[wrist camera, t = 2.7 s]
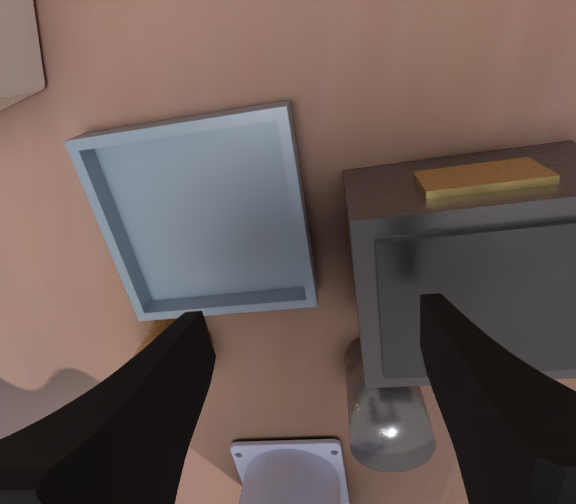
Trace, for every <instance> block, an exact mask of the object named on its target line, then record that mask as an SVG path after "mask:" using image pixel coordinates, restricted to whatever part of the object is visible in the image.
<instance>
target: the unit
mask: <svg viewBox="0 0 576 504" xmlns="http://www.w3.org/2000/svg"><path fill="white" fill-rule="evenodd" d="M343 177H344V188H345V198H346V208H347V218H348V229H349V239H350V249H351V259H352V269H353V280H354V290H355V300H356V310H357V319H358V327H359V336H360V345H361V354H362V362H363V371H364V380H365V388H384V387H404V386H425V385H431V384H430V381H429V378H428V376H427V373H426V369H425V365H424V361H423V356H422V352H421V348H420V295H421V294H435V293H441V294H442V295H443V296H444V297H445V298H447V299H448V300H449V301H450V302H451V303H452V304H453V305H454V306H455V307H456V308H457V309H458V310H459V311H460V312H462V313H463V314H464V315H465V316H466V317H467V318H468V319H469V320H470V321H472V322H473V323H474V324H475V325H476V326H477V327H479V328H480V329H481V330H482V331H483V332H485V333H486V334H487V335H488V336H489V337H491V338H492V339H493V340H494V341H496V342H497V343H498V344H500V345H501V346H502V347H504V348H505V349H507V350H508V351H509V352H511V353H512V354H514V355H515V356H516V357H518V358H519V359H521V360H523V361H524V362H526V363H527V364H529V365H530V366H532V367H534V368H535V369H537V370H538V371H540V372H542V373H543V374H545V375H547V376H548V377H550V378H552V379H567V378H576V142H573V141H565V142H557V143H550V144H542V145H534V146H527V147H519V148H511V149H504V150H496V151H488V152H481V153H473V154H465V155H458V156H450V157H442V158H435V159H427V160H419V161H412V162H404V163H396V164H389V165H381V166H374V167H366V168H358V169H351V170H343Z"/></svg>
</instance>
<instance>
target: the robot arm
mask: <svg viewBox="0 0 576 504" xmlns="http://www.w3.org/2000/svg"><path fill="white" fill-rule="evenodd" d="M420 348H421V352H422V356H423V361H424V365H425V369H426V373H427V376H428V378H429V381H430V384H431V387H432V389H433V392H434V395H435V397H436V400H437V403H438V405H439V408H440V411H441V413H442V416H443V419H444V421H445V424H446V427H447V429H448V432H449V434H450V437H451V440H452V443H453V446H454V449H455V452H456V456H457V460H458V463H459V467H460V471H461V474H462V478H463V482H464V486H465V490H466V494H467V497H468V501H469V504H576V391H574V390H572V389H570V388H568V387H567V386H565V385H563V384H561V383H559V382H557V381H555V380H554V379H552V378H550V377H548V376H547V375H545V374H543V373H542V372H540V371H538V370H537V369H535V368H534V367H532V366H530V365H529V364H527V363H526V362H524V361H523V360H521V359H519V358H518V357H516V356H515V355H514V354H512V353H511V352H509V351H508V350H507V349H505V348H504V347H502V346H501V345H500V344H498V343H497V342H496V341H494V340H493V339H492V338H491V337H489V336H488V335H487V334H486V333H485V332H483V331H482V330H481V329H480V328H479V327H477V326H476V325H475V324H474V323H473V322H472V321H470V320H469V319H468V318H467V317H466V316H465V315H464V314H463V313H462V312H460V311H459V310H458V309H457V308H456V307H455V306H454V305H453V304H452V303H451V302H450V301H449V300H448V299H447V298H445V297H444V296H443V295H442V294H441V293H435V294H421V295H420ZM215 359H216V355H215V352H214V349H213V345H212V342H211V339H210V335H209V332H208V329H207V325H206V322H205V319H204V315H203V312H202V311H191V312H185V313H183V314H182V315H181V316H180V317H178V318H177V319H176V320H175V321H174V322H173V323H172V324H170V325H169V326H168V327H167V328H166V329H165V330H164V331H163V332H162V333H161V334H159V335H158V336H157V337H156V338H155V339H154V340H153V341H152V342H150V343H149V344H148V345H147V346H146V347H145V348H144V349H143V350H141V351H140V352H139V353H138V354H137V355H135V356H134V357H133V358H132V359H131V360H129V361H128V362H127V363H126V364H124V365H123V366H122V367H121V368H120V369H118V370H117V371H116V372H114V373H113V374H112V375H110V376H109V377H108V378H106V379H105V380H104V381H102V382H101V383H99V384H98V385H97V386H95V387H94V388H92V389H91V390H89V391H88V392H86V393H85V394H83V395H81V396H80V397H78V398H77V399H75V400H74V401H72V402H70V403H68V404H67V405H65V406H63V407H62V408H60V409H59V410H57V411H55V412H54V413H52V414H50V415H48V416H46V417H44V418H43V419H41V420H39V421H37V422H35V423H33V424H31V425H29V426H27V427H26V428H24V429H21V430H20V431H17V432H15V433H13V434H11V435H10V436H7V437H5V438H2V439H0V504H175V500H176V495H177V490H178V486H179V482H180V477H181V473H182V469H183V465H184V461H185V457H186V454H187V450H188V447H189V444H190V441H191V438H192V435H193V433H194V430H195V427H196V424H197V421H198V418H199V416H200V413H201V410H202V407H203V404H204V401H205V398H206V396H207V393H208V390H209V387H210V384H211V379H212V374H213V369H214V364H215ZM230 450H231V453H232V456H233V459H234V462H235V465H236V467H237V470H238V473H239V476H240V479H241V482H242V491H241V497H240V501H239V504H350V503H349V496H348V489H347V483H346V476H345V469H344V462H343V456H342V449H341V443H340V441H338V440H337V439H310V440H278V441H246V442H234V443H232V445H231V448H230Z"/></svg>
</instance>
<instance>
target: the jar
mask: <svg viewBox="0 0 576 504" xmlns="http://www.w3.org/2000/svg"><path fill="white" fill-rule="evenodd" d="M44 88H45V80H44V73H43V66H42V59H41V52H40V45H39V38H38V31H37V24H36V16H35V9H34V2H33V0H0V111H1V110H3V109H5V108H7V107H9V106H11V105H13V104H15V103H17V102H19V101H21V100H23V99H25V98H27V97H29V96H31V95H33V94H35V93H37V92H39V91H41V90H43V89H44Z"/></svg>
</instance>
